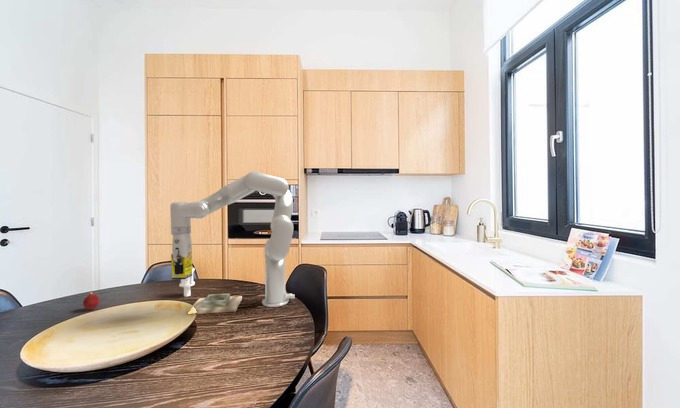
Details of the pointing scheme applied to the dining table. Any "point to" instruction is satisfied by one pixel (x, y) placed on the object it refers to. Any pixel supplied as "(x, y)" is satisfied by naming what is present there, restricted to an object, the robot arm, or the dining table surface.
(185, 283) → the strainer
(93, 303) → the onion
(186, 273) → the supplement box
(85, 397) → the dining table surface
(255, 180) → the robot arm
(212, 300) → the grey flat piece
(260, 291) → the dining table surface
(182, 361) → the dining table surface
